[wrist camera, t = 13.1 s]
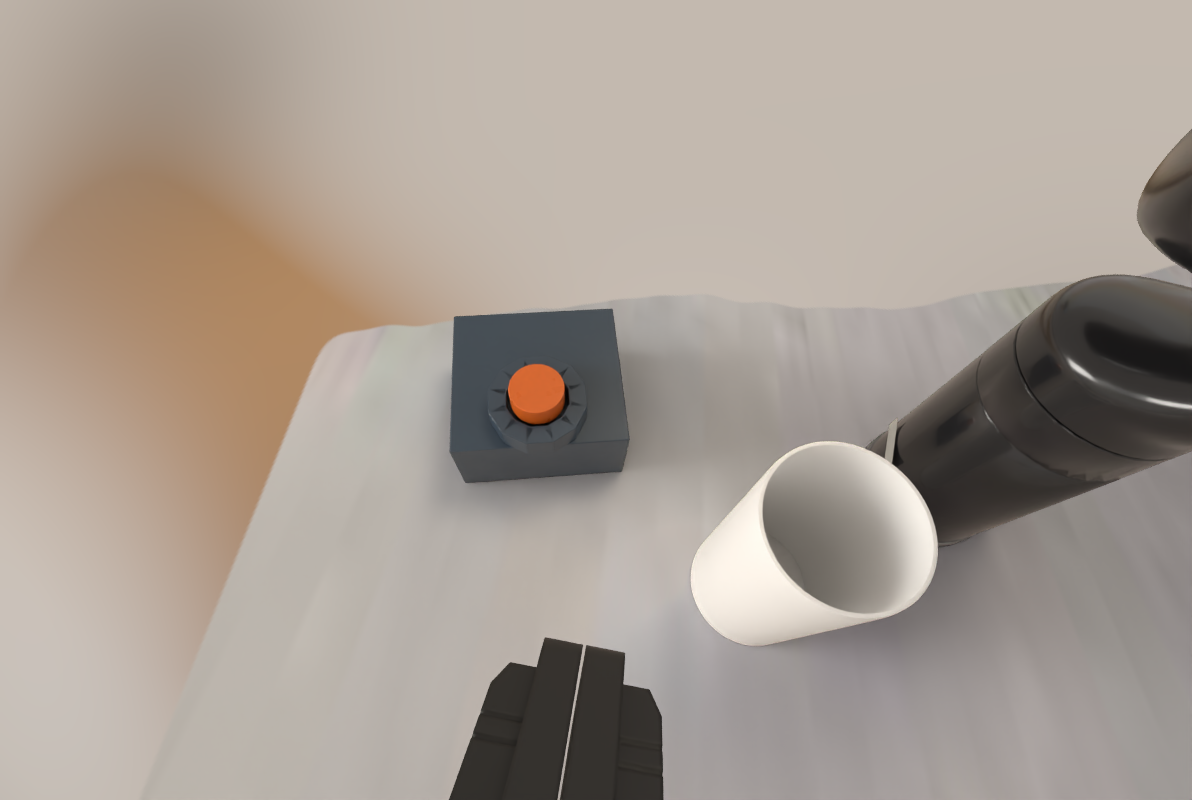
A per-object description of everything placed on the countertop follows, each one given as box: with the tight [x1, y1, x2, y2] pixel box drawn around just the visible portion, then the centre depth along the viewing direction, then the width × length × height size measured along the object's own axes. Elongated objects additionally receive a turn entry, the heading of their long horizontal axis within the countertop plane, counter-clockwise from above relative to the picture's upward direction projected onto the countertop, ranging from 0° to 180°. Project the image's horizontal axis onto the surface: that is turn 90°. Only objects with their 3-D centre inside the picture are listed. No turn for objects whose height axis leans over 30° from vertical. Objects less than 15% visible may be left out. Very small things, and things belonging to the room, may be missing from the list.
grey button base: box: [450, 309, 629, 483], centre depth 41 cm, size 12×12×8 cm
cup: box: [691, 441, 938, 646], centre depth 32 cm, size 8×8×16 cm
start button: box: [508, 364, 565, 424], centre depth 36 cm, size 4×4×2 cm
